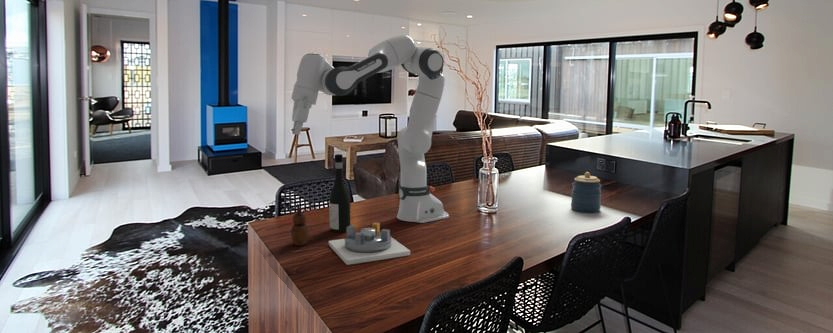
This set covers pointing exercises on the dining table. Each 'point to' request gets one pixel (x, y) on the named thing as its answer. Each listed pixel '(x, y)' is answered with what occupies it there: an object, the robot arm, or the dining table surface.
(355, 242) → the lathe chuck
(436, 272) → the dining table surface
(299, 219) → the wooden figurine
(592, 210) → the canister
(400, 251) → the base plate
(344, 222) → the wine bottle
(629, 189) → the dining table surface
